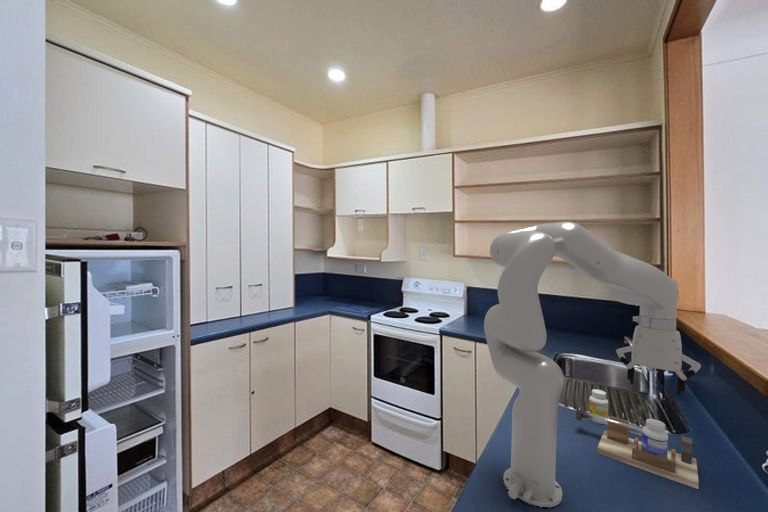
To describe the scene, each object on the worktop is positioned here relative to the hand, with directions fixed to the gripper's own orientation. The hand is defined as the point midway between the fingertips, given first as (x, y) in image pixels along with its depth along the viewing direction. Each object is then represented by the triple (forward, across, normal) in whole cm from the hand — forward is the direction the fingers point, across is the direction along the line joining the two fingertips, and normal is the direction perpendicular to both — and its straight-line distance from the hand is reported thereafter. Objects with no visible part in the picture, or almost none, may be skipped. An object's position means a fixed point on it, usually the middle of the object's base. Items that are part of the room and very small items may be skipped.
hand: (654, 387), depth 88 cm
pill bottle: (+19, 0, 0) cm, 19 cm away
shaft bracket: (+20, -1, +1) cm, 20 cm away
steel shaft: (+17, -10, +5) cm, 20 cm away
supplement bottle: (+20, -15, +17) cm, 30 cm away
